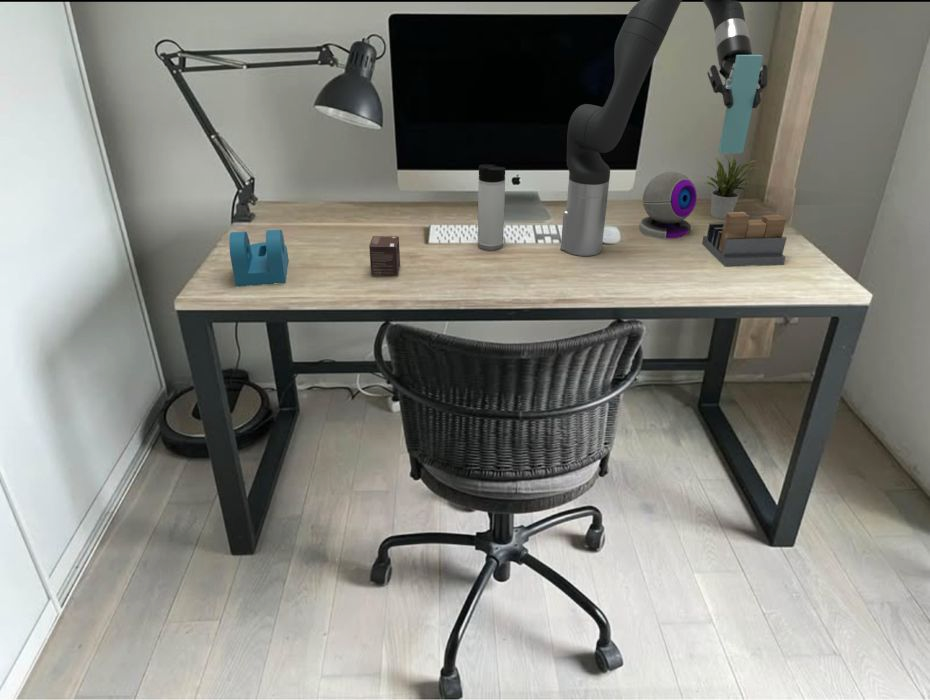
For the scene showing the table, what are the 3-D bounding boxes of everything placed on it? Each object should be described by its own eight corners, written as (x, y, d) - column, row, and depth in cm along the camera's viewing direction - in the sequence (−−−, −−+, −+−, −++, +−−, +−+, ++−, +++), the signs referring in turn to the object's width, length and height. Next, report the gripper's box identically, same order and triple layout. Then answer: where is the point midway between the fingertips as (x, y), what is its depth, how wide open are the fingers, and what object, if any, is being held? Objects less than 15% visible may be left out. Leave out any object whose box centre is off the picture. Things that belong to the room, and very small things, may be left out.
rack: (701, 243, 170) (706, 220, 167) (756, 242, 171) (762, 219, 168) (724, 266, 158) (729, 241, 155) (783, 264, 159) (789, 240, 156)
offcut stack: (718, 249, 161) (726, 212, 157) (772, 247, 162) (781, 210, 158) (723, 253, 159) (731, 216, 154) (778, 252, 160) (787, 215, 155)
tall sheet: (718, 151, 168) (736, 55, 157) (740, 151, 169) (760, 54, 157) (720, 153, 167) (739, 55, 156) (743, 153, 167) (763, 55, 156)
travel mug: (471, 246, 168) (471, 164, 158) (489, 239, 172) (490, 159, 162) (490, 253, 164) (492, 170, 154) (508, 245, 168) (511, 164, 158)
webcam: (664, 242, 170) (674, 183, 163) (628, 227, 180) (635, 170, 172) (700, 232, 176) (711, 174, 169) (663, 218, 186) (671, 162, 178)
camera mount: (285, 283, 150) (279, 238, 144) (235, 287, 148) (227, 241, 143) (289, 252, 165) (284, 210, 160) (244, 255, 164) (237, 212, 158)
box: (374, 265, 158) (372, 235, 154) (400, 266, 158) (399, 235, 154) (370, 276, 153) (368, 245, 149) (397, 277, 153) (396, 246, 149)
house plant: (762, 215, 187) (775, 155, 179) (741, 229, 178) (755, 166, 170) (712, 204, 195) (723, 146, 187) (690, 216, 187) (700, 156, 178)
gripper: (709, 33, 161) (719, 97, 157) (769, 33, 162) (781, 96, 157) (697, 55, 168) (707, 116, 164) (754, 54, 169) (765, 115, 165)
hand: (743, 106), depth 161 cm, fingers closed on tall sheet, 5 cm apart
